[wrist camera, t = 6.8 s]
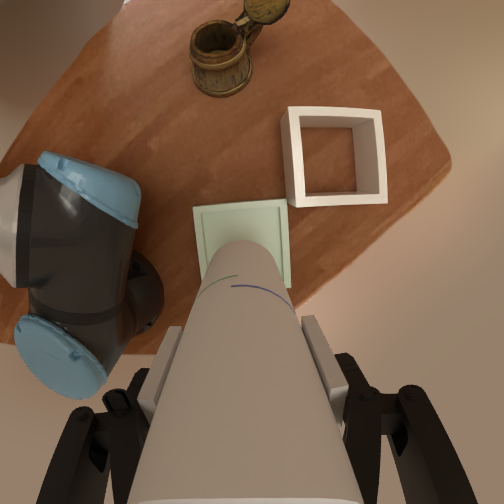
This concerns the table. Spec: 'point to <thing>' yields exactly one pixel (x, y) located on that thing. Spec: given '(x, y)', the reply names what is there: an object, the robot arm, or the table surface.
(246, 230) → the tray
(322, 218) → the table surface
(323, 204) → the hollow square frame
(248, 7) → the wooden mug
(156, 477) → the cylindrical container
